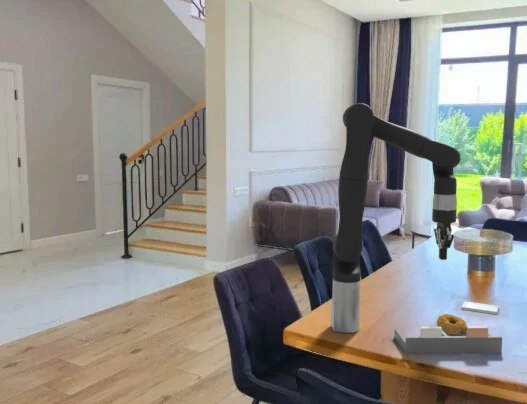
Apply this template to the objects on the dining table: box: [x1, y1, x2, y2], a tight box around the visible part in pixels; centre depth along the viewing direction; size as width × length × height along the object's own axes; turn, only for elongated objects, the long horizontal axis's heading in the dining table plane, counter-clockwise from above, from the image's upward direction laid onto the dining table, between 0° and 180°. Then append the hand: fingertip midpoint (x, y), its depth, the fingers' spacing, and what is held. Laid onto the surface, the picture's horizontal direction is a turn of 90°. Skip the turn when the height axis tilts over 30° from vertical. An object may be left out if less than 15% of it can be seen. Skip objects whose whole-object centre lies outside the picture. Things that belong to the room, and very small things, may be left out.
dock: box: [393, 326, 503, 355], centre depth 163 cm, size 29×13×8 cm, turn 91°
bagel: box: [436, 313, 468, 336], centre depth 176 cm, size 10×11×5 cm
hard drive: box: [461, 300, 500, 315], centre depth 198 cm, size 2×8×12 cm
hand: (442, 259), depth 173 cm, fingers closed
